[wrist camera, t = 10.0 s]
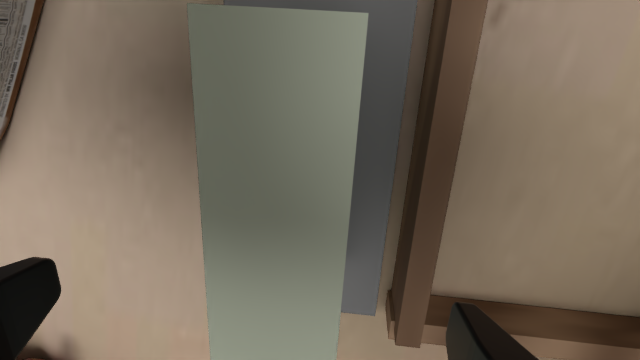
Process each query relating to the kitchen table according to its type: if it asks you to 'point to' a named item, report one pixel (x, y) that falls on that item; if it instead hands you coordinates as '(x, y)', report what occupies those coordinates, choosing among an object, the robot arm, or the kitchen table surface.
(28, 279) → the robot arm
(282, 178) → the pale green block
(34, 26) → the tin
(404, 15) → the mat
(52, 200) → the kitchen table surface
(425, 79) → the rack
